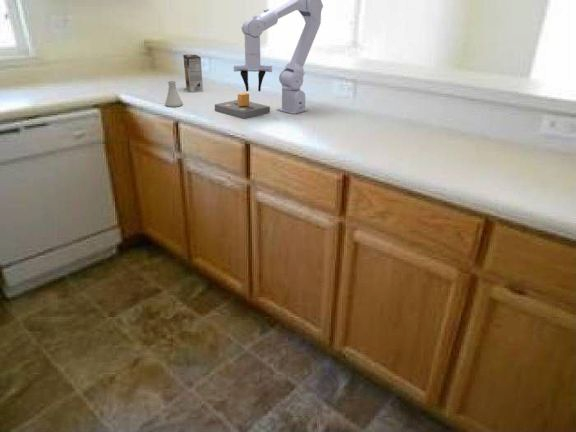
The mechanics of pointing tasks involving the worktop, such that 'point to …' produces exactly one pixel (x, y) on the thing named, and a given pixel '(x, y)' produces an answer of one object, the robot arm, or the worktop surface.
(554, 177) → the worktop surface
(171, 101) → the flask
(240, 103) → the block
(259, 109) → the breaker panel
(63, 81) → the worktop surface
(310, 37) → the robot arm
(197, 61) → the coffee box
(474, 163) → the worktop surface
